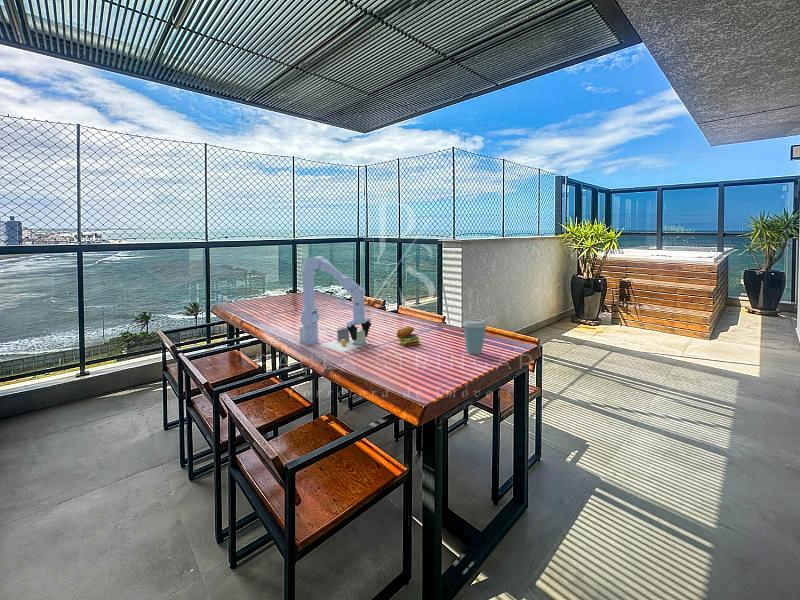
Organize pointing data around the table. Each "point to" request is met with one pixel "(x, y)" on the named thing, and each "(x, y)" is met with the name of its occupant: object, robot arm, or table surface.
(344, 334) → the grey acorn nut
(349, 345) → the mat
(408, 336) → the cheeseburger
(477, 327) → the disposable coffee cup
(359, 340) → the green acorn nut
